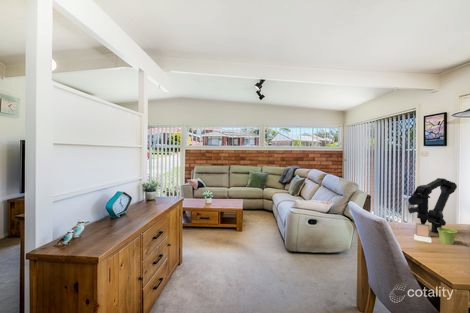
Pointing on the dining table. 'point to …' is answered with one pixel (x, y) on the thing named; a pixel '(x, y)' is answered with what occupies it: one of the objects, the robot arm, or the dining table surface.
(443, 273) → the dining table surface
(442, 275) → the dining table surface
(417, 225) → the slate tile
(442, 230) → the plant pot
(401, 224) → the dining table surface
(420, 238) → the white rectangular board
